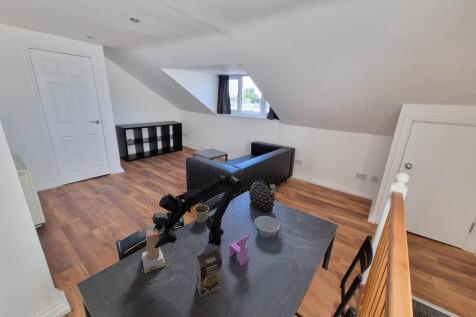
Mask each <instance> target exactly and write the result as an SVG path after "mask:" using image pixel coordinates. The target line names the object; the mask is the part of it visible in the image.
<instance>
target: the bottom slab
mask: <svg viewBox="0 0 476 317" xmlns="http://www.w3.org/2000/svg"><path fill="white" fill-rule="evenodd" d="M161 254H162V257H163V263H161V264H158V265H155V266H152V267H150V268H147V269H145V267H144V261H143V255H142V256H141V261H142V266H143V270H144V271H143V272H144V273H145V274H146V273H149V272H151V271H154V270H157V269H160V268H162V267H165V266H166V261H165V257H164V255H163V252H162V250H161Z"/></svg>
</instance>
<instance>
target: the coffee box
mask: <svg viewBox="0 0 476 317" xmlns="http://www.w3.org/2000/svg"><path fill="white" fill-rule="evenodd" d="M222 266H223V259H222V258H221V255H220V254H219V252H218V249H215V250H212V251H209V252H205V253H202V254H201V255H197V256H196V288H197V291H198V293H199V296H200V297H201V298H202V297H204V296H207V295H208V294H211V293H213V292H214V293H215V292H216V291H218V290H221V287H222V271H223V270H222Z"/></svg>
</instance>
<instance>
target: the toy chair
mask: <svg viewBox="0 0 476 317" xmlns="http://www.w3.org/2000/svg"><path fill="white" fill-rule="evenodd" d="M249 238H250V234H246V235H245V236H243V237H241V238H240V239H238V240H236V241H235V242H233V243H231V244H230V245H229V255H228V257H232V256H233V255H234V254H236V253H237V254H238V256H239V258H240V264H239V267H242V266H243V265H244V264H246V263H247V262H248V261H250V258H249V255H248V253H249V246H248V245H247V240H248V239H249Z"/></svg>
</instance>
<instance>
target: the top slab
mask: <svg viewBox="0 0 476 317" xmlns="http://www.w3.org/2000/svg"><path fill="white" fill-rule="evenodd" d="M161 251H162V249H161V246H160V247H159V257H155V258H151V259H148V256H147V251H144V252H141V253H142V256H143V261H144V266H143V268H144V267H145V269H147V268H150V267H152V266H155V265H158V264H161V263H163V258H164V256H163V257H162V254H163V253H162V254H161ZM143 261H142V262H143Z"/></svg>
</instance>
